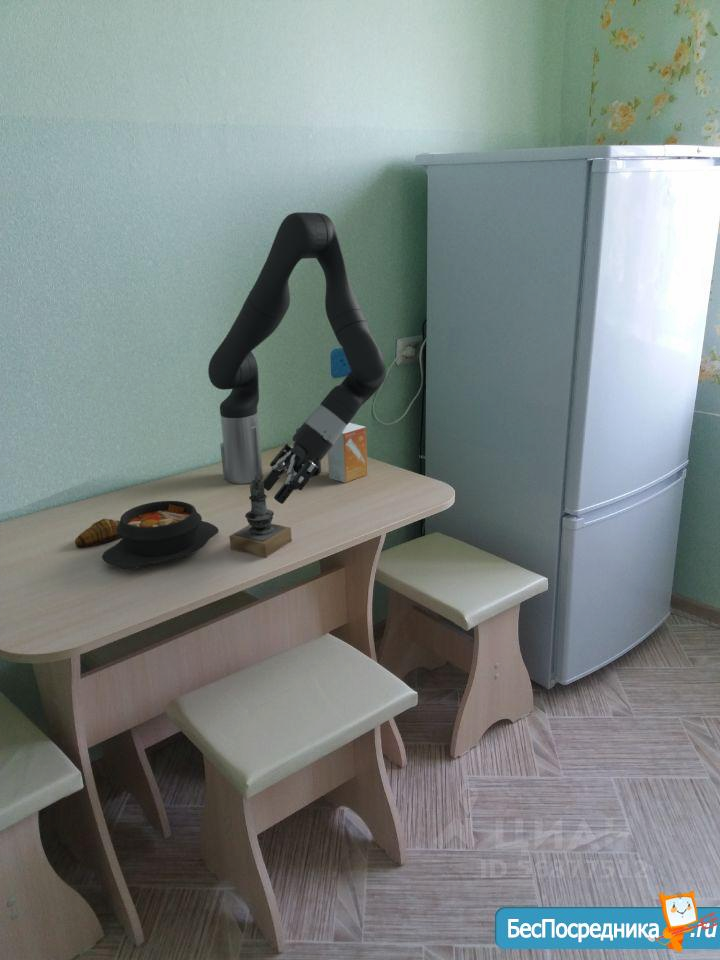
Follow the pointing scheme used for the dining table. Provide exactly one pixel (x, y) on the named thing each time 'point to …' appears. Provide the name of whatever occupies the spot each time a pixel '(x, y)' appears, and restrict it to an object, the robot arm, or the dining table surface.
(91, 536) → the croissant
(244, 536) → the wooden picture frame
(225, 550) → the dining table surface
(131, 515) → the casserole
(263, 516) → the dark grey chess piece
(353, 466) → the small box
